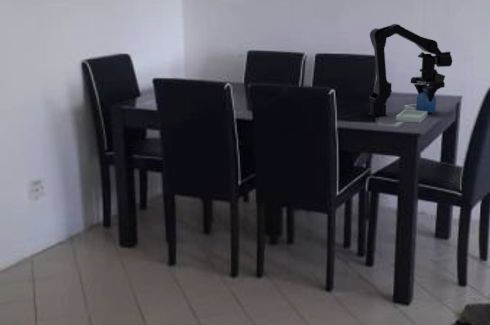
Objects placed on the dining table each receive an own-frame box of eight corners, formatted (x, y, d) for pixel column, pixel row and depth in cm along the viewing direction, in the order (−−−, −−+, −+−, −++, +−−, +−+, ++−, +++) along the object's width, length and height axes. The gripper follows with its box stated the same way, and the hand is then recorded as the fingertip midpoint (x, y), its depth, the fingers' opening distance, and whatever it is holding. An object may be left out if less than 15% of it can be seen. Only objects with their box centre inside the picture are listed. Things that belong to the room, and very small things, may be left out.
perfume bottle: (416, 110, 308) (417, 85, 305) (427, 109, 310) (428, 84, 307) (424, 112, 302) (425, 87, 299) (435, 111, 304) (436, 86, 301)
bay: (414, 113, 306) (414, 108, 305) (403, 110, 314) (403, 105, 313) (433, 111, 309) (434, 106, 308) (422, 108, 317) (422, 103, 317)
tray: (420, 122, 285) (420, 117, 285) (395, 120, 290) (396, 115, 289) (427, 116, 299) (427, 111, 299) (404, 114, 304) (404, 109, 303)
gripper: (455, 68, 295) (453, 102, 299) (430, 64, 312) (428, 96, 316) (435, 69, 291) (432, 104, 295) (410, 65, 308) (409, 98, 312)
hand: (426, 100), depth 305 cm, fingers closed on perfume bottle, 6 cm apart
